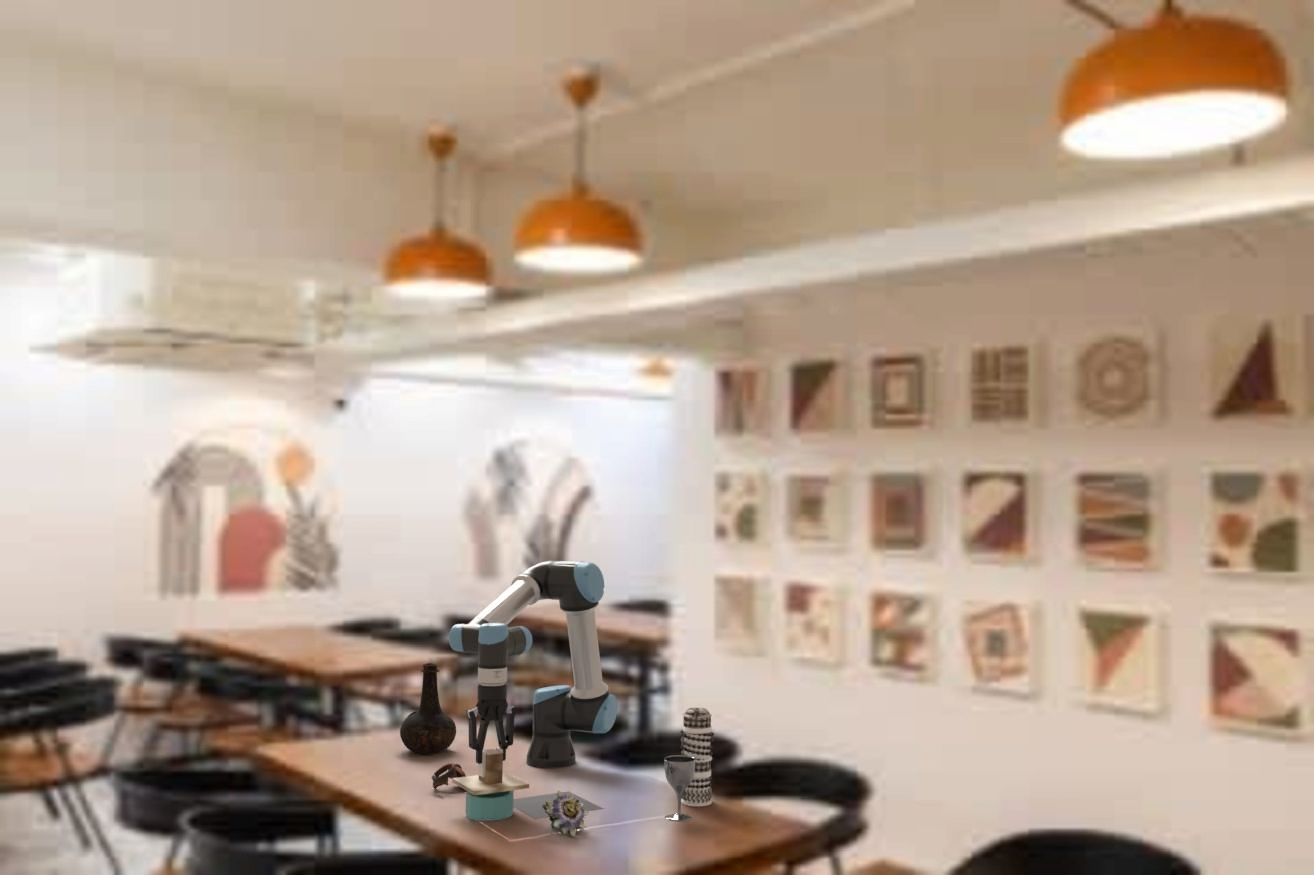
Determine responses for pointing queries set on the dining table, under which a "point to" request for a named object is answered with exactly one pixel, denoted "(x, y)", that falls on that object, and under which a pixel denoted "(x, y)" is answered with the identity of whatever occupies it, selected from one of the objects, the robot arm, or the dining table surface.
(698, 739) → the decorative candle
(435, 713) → the glass bottle
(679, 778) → the wine glass
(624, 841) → the dining table surface
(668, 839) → the dining table surface
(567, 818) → the passion flower
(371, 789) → the dining table surface
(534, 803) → the mat
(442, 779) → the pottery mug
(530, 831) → the dining table surface
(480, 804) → the bowl
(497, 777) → the lid
